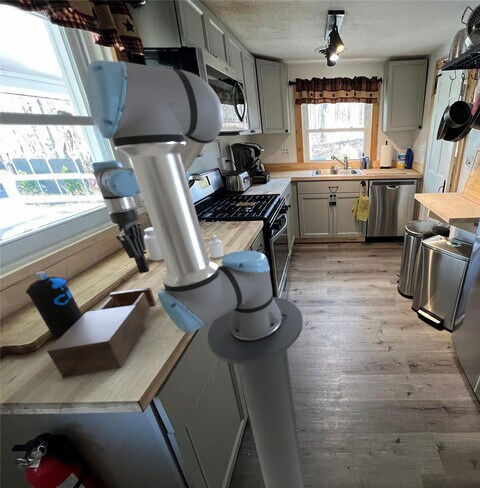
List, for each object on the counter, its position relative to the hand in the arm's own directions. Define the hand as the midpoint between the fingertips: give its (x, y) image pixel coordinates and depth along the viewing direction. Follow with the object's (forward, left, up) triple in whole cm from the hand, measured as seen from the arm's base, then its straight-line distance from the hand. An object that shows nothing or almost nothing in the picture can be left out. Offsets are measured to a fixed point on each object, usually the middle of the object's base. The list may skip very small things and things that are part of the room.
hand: (144, 271), depth 95 cm
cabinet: (0, +30, -9) cm, 31 cm away
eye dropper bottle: (-20, -25, -9) cm, 33 cm away
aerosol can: (+17, +17, -9) cm, 25 cm away
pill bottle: (+8, -32, -9) cm, 34 cm away
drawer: (0, +16, -8) cm, 18 cm away
